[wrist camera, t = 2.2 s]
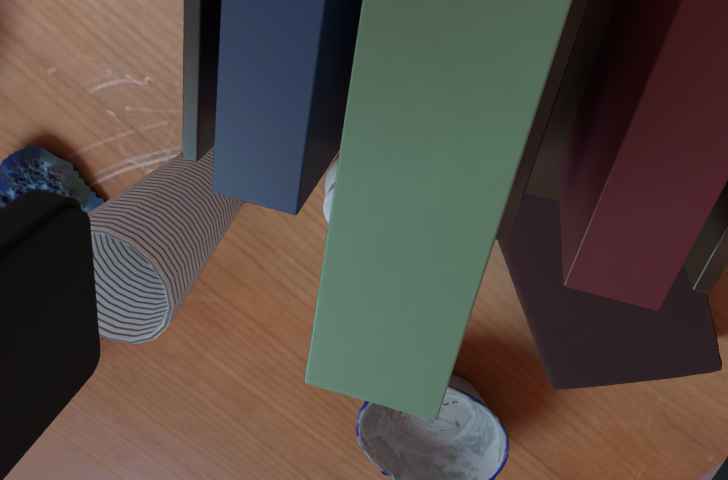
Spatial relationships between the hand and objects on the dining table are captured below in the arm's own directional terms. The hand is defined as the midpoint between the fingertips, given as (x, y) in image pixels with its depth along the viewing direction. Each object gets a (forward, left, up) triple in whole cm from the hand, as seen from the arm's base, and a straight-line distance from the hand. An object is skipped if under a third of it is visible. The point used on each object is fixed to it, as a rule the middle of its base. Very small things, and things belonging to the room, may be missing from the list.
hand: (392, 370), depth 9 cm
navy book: (0, -6, -18) cm, 19 cm away
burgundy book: (0, +5, -18) cm, 19 cm away
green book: (0, 0, -18) cm, 18 cm away
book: (+18, +12, -37) cm, 42 cm away
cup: (+20, -18, -37) cm, 45 cm away
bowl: (+37, +4, -37) cm, 52 cm away
